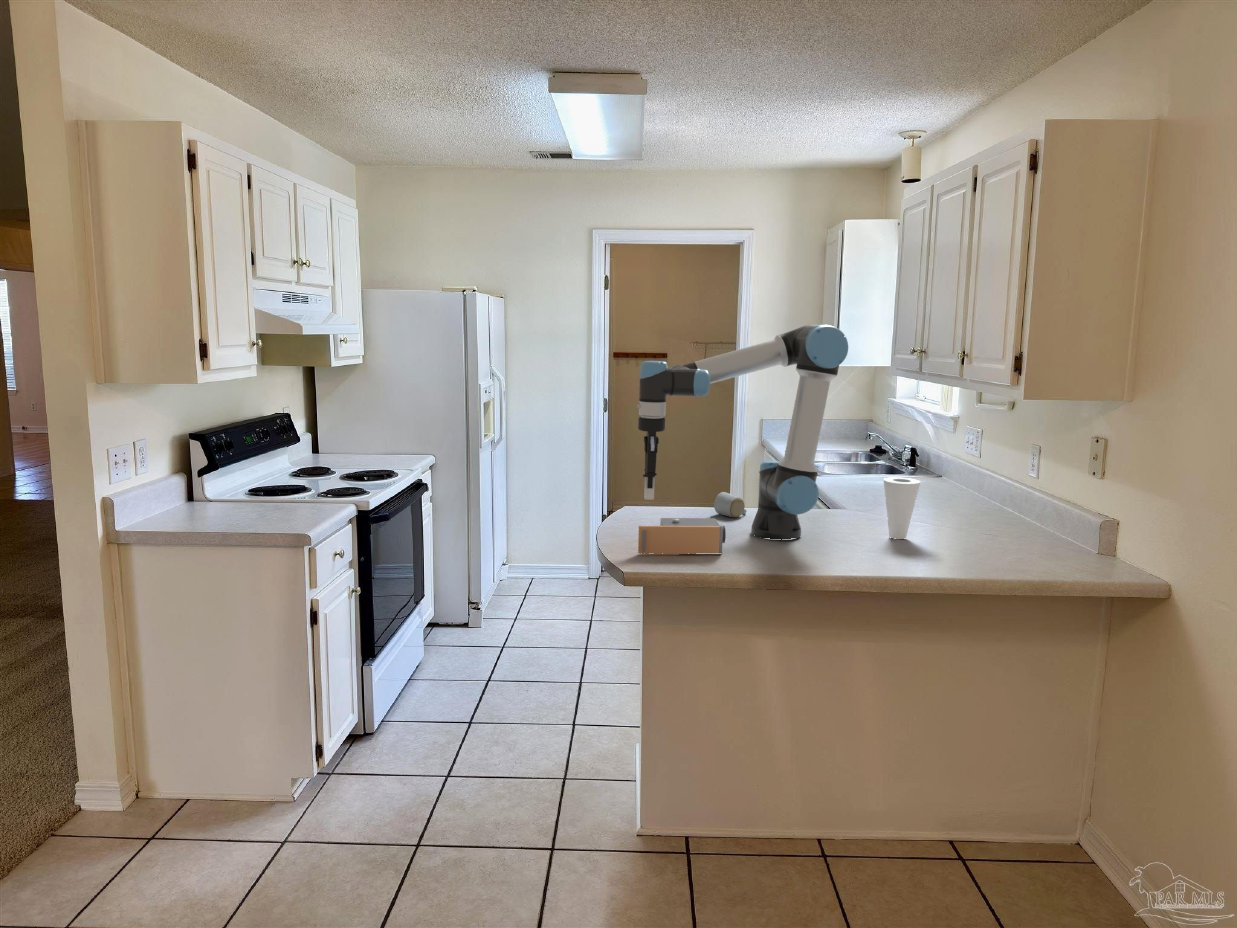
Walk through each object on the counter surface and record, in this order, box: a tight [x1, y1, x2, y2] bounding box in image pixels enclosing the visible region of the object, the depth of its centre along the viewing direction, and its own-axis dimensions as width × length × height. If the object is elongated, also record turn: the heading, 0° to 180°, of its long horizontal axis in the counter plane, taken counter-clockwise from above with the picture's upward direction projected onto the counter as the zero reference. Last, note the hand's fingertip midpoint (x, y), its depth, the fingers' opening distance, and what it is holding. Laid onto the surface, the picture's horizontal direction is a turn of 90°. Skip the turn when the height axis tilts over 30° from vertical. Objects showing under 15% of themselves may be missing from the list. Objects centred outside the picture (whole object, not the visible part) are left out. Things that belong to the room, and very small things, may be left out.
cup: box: [883, 476, 921, 539], centre depth 255 cm, size 11×11×18 cm
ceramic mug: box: [713, 491, 747, 519], centre depth 282 cm, size 11×8×8 cm
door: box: [637, 525, 724, 555], centre depth 233 cm, size 24×2×8 cm, turn 92°
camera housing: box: [659, 517, 727, 544], centre depth 240 cm, size 18×10×9 cm, turn 92°
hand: (649, 498), depth 238 cm, fingers closed
